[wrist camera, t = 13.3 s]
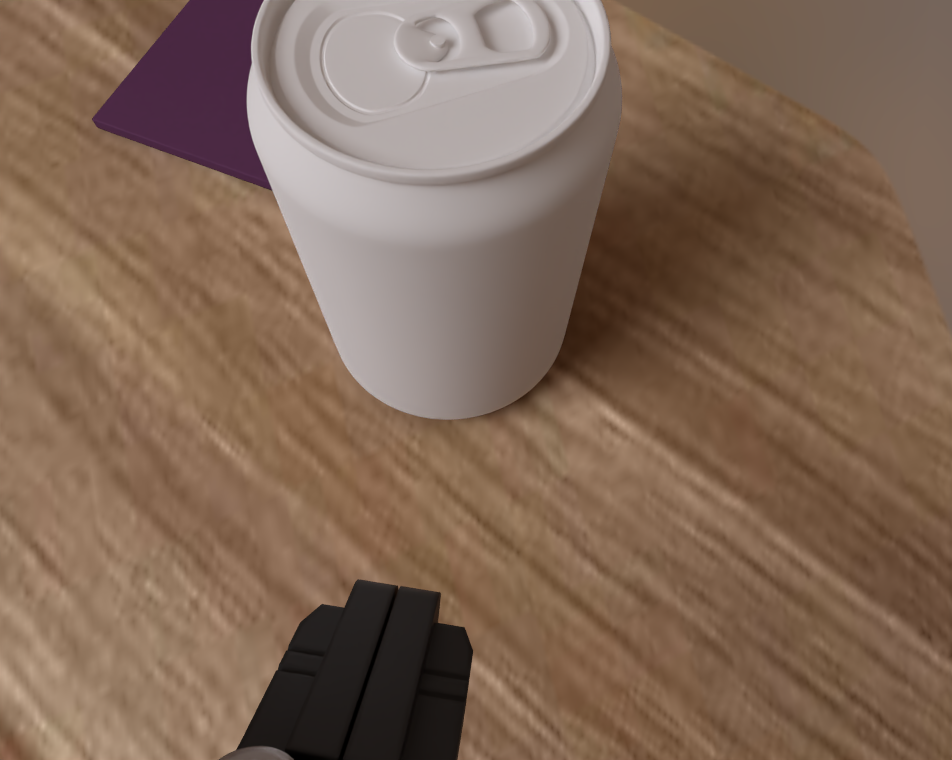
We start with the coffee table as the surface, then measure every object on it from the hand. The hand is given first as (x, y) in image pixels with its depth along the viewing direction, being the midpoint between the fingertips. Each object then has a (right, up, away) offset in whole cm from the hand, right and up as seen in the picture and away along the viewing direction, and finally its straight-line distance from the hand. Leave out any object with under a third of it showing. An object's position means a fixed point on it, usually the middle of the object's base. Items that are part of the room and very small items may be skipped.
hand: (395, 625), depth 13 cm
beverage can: (0, +6, +13) cm, 14 cm away
